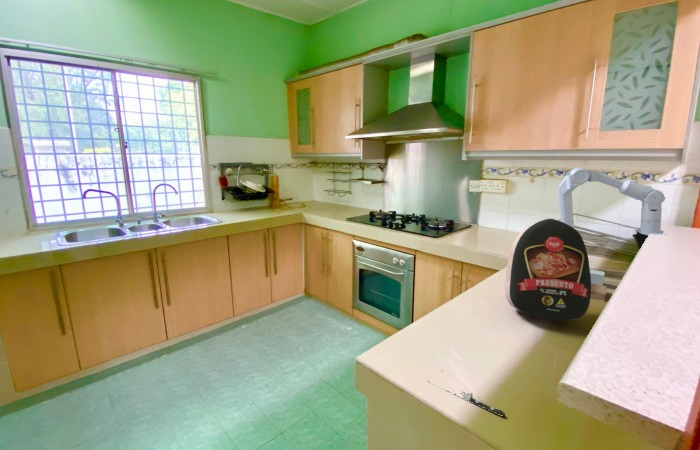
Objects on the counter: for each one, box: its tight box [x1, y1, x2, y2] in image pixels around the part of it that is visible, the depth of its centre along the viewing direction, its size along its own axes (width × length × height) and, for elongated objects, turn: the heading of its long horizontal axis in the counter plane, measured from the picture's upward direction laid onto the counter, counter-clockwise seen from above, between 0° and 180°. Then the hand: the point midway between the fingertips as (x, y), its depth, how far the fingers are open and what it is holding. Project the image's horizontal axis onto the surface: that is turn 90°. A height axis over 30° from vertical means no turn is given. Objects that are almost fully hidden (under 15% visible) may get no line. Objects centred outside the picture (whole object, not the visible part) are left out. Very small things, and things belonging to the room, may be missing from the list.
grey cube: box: [590, 269, 606, 286], centre depth 123 cm, size 5×5×5 cm
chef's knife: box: [460, 391, 506, 416], centre depth 67 cm, size 19×1×3 cm
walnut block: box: [590, 283, 607, 302], centre depth 115 cm, size 9×9×3 cm
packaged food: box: [504, 218, 591, 322], centre depth 97 cm, size 22×20×30 cm
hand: (649, 253), depth 125 cm, fingers open, 7 cm apart
